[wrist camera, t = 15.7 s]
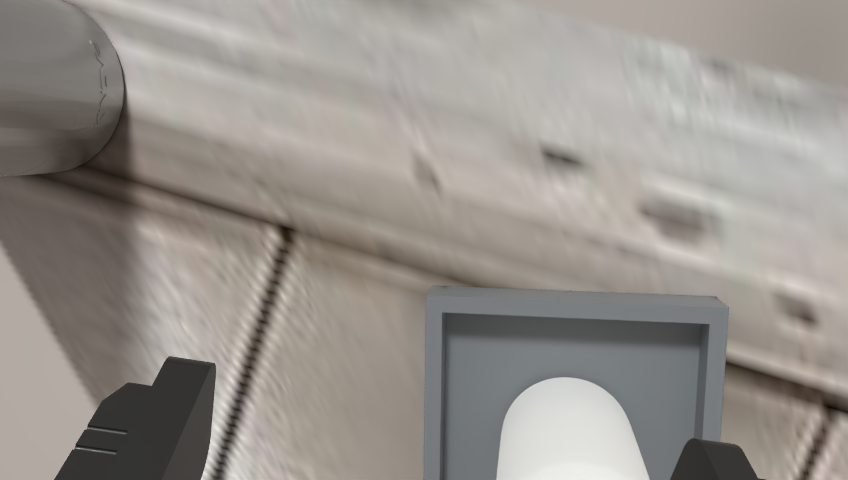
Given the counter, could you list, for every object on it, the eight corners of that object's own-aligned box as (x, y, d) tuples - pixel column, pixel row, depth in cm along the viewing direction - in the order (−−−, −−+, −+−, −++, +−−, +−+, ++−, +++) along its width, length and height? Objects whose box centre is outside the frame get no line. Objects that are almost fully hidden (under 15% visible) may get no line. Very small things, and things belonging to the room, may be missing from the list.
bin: (428, 541, 41) (422, 566, 39) (432, 285, 39) (425, 295, 37) (698, 563, 39) (709, 592, 37) (715, 296, 37) (729, 307, 35)
